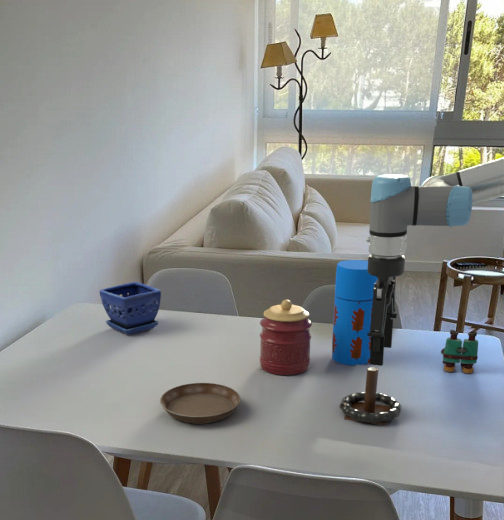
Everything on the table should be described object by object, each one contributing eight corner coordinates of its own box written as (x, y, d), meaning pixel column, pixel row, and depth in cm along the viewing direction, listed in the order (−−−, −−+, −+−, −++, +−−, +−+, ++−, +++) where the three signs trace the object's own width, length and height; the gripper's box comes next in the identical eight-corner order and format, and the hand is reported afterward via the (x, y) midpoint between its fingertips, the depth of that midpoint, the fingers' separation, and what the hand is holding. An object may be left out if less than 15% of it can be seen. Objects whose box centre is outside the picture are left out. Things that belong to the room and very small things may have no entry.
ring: (402, 402, 158) (403, 394, 157) (397, 427, 147) (398, 418, 146) (344, 396, 161) (345, 388, 160) (335, 419, 150) (336, 411, 149)
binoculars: (478, 325, 182) (483, 334, 173) (472, 364, 186) (477, 375, 177) (442, 323, 184) (445, 331, 174) (438, 362, 187) (440, 372, 178)
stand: (392, 412, 157) (397, 364, 152) (385, 429, 149) (390, 379, 144) (352, 406, 160) (356, 359, 155) (343, 423, 152) (347, 373, 147)
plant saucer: (213, 435, 146) (213, 422, 145) (144, 416, 154) (143, 404, 153) (254, 404, 160) (254, 392, 159) (189, 389, 168) (189, 377, 167)
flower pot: (126, 339, 200) (123, 298, 195) (101, 327, 209) (97, 288, 203) (164, 329, 208) (162, 289, 203) (138, 318, 217) (136, 280, 212)
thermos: (378, 356, 189) (387, 263, 178) (361, 368, 181) (369, 271, 170) (342, 348, 194) (348, 257, 183) (324, 360, 186) (329, 265, 175)
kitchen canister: (288, 354, 190) (290, 290, 182) (320, 368, 180) (323, 301, 173) (249, 364, 183) (249, 298, 175) (280, 380, 173) (282, 310, 166)
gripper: (378, 241, 155) (373, 336, 165) (357, 267, 136) (352, 373, 146) (413, 243, 153) (405, 339, 163) (396, 269, 134) (389, 377, 144)
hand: (380, 355), depth 155 cm, fingers open, 10 cm apart
